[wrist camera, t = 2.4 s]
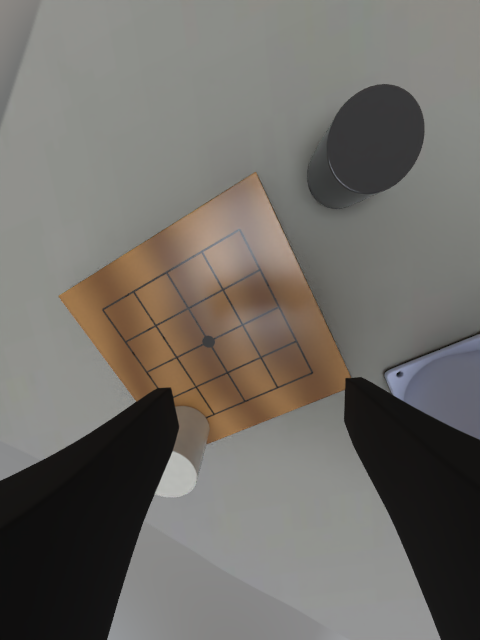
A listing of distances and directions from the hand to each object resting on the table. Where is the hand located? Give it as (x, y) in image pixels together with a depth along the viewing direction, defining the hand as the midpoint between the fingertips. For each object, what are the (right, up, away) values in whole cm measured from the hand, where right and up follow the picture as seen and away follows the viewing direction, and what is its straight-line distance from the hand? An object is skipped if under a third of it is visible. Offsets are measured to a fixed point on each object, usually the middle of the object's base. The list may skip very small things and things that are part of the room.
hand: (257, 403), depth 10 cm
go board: (-3, +2, +10) cm, 10 cm away
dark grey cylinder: (+6, +13, +6) cm, 16 cm away
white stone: (-6, -6, +11) cm, 14 cm away
